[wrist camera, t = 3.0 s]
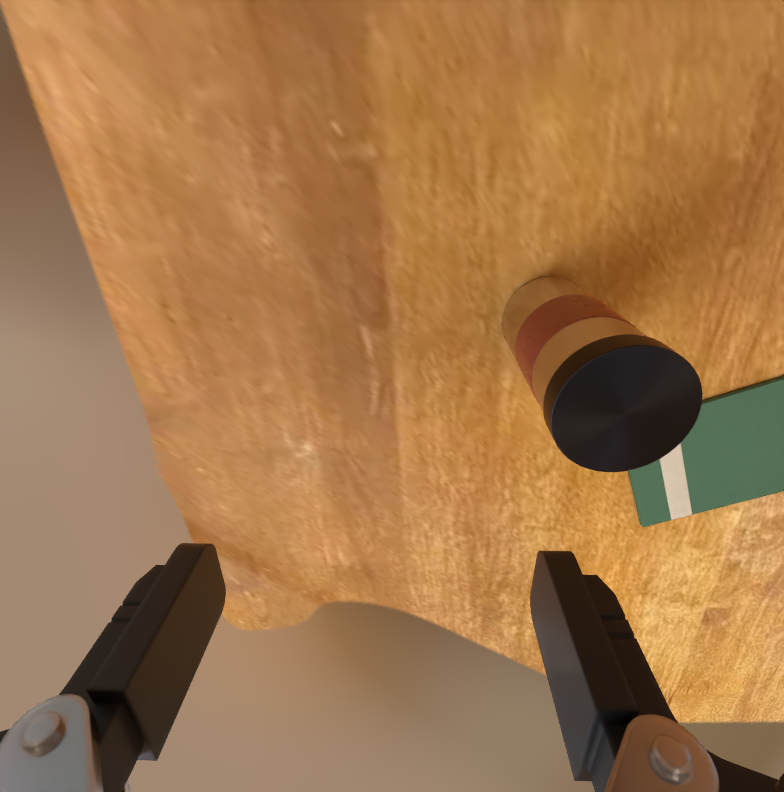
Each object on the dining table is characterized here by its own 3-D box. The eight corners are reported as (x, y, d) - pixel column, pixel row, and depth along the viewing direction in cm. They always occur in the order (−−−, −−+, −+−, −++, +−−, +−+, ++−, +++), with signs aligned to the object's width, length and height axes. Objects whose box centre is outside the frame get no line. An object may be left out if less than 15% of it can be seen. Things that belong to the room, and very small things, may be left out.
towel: (617, 426, 33) (620, 429, 32) (941, 327, 29) (948, 329, 28) (640, 524, 37) (642, 527, 37) (926, 449, 33) (932, 453, 32)
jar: (482, 338, 30) (522, 440, 19) (531, 257, 28) (611, 319, 17) (556, 374, 31) (636, 491, 20) (611, 298, 29) (737, 384, 18)
